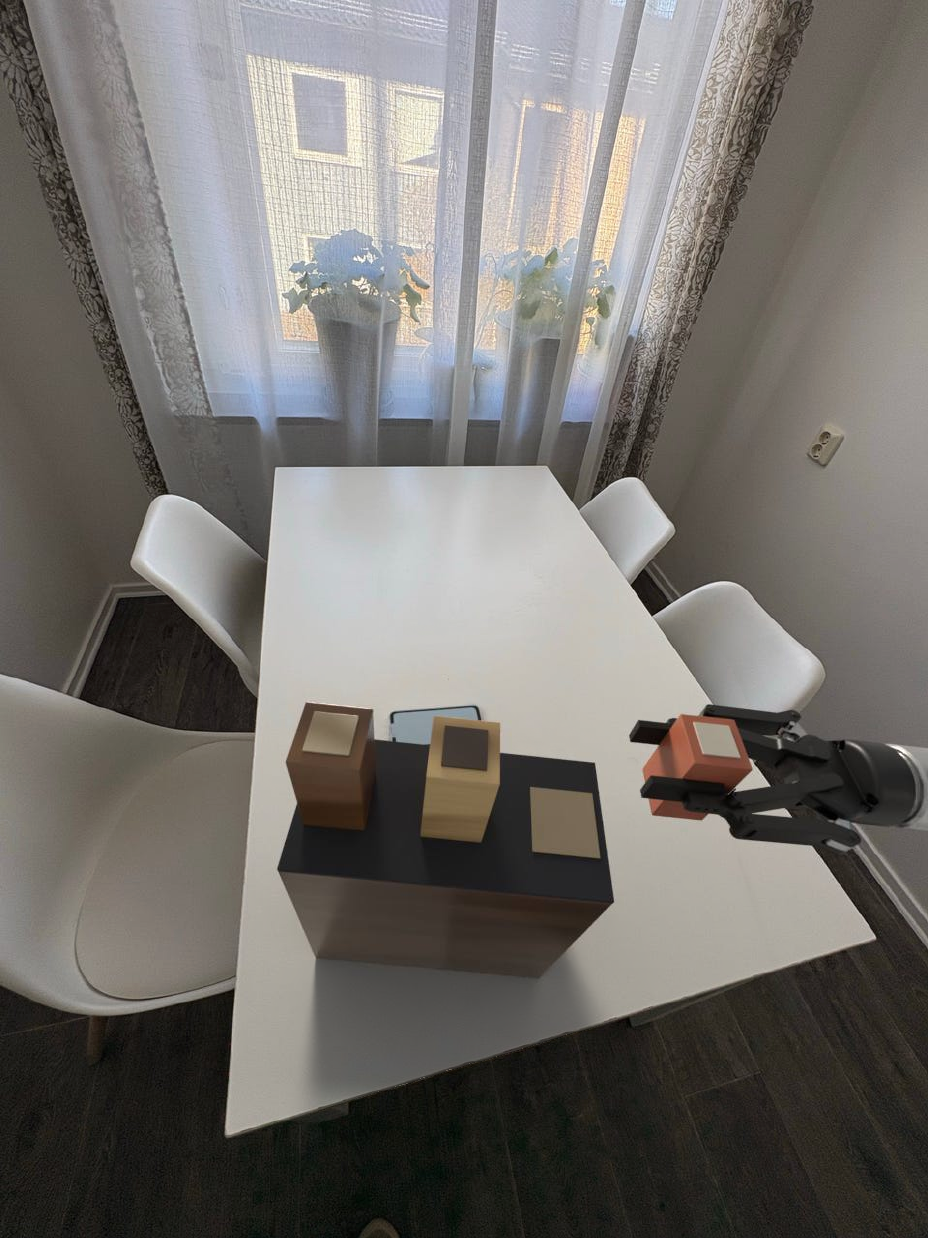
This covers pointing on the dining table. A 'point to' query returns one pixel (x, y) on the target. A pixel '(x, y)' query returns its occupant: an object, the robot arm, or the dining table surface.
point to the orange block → (698, 759)
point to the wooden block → (333, 765)
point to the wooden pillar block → (461, 778)
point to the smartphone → (425, 721)
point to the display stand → (436, 925)
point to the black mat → (503, 862)
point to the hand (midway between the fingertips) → (640, 757)
